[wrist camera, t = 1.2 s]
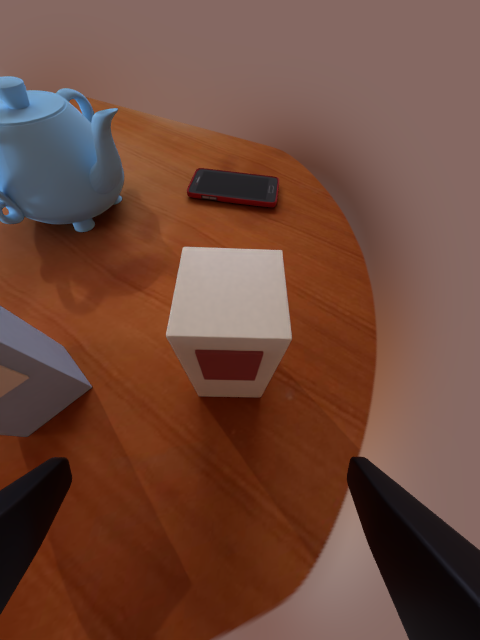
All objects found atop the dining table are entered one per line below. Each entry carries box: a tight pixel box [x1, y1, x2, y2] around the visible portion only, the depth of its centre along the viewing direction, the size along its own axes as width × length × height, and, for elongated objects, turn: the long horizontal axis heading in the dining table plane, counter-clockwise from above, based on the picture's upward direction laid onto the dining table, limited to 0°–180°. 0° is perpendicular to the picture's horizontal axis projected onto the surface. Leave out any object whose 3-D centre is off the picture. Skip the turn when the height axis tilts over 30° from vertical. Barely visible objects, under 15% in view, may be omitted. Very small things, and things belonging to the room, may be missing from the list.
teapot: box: [0, 76, 124, 232], centre depth 30 cm, size 16×20×14 cm
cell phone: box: [187, 168, 279, 207], centre depth 39 cm, size 8×15×1 cm, turn 82°
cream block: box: [166, 247, 292, 397], centre depth 18 cm, size 6×6×13 cm
